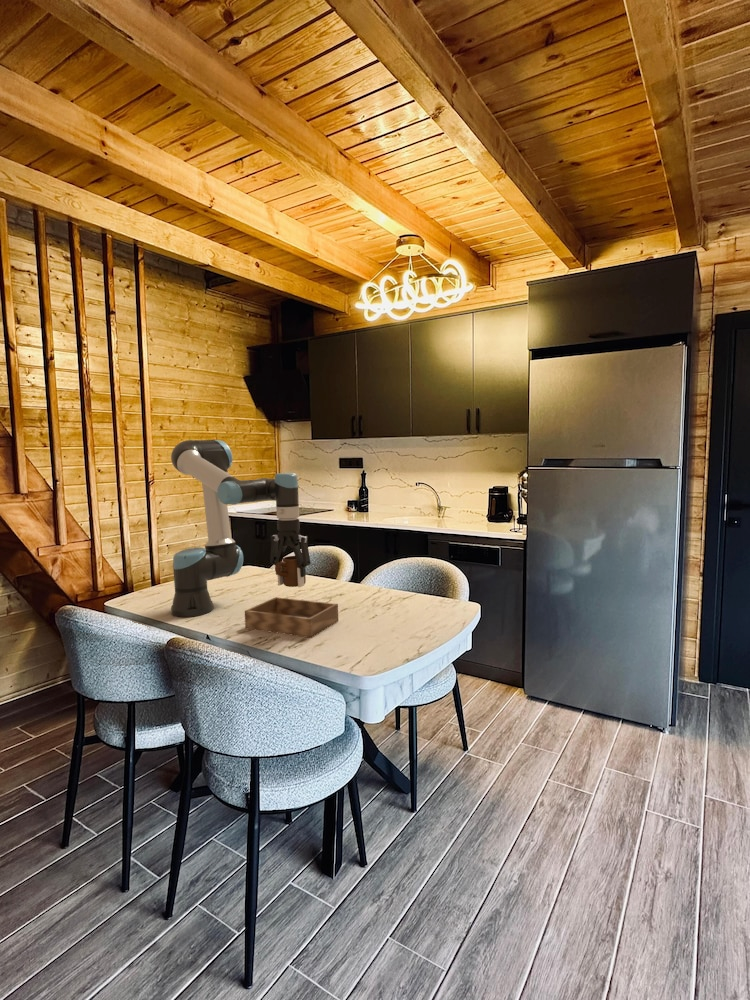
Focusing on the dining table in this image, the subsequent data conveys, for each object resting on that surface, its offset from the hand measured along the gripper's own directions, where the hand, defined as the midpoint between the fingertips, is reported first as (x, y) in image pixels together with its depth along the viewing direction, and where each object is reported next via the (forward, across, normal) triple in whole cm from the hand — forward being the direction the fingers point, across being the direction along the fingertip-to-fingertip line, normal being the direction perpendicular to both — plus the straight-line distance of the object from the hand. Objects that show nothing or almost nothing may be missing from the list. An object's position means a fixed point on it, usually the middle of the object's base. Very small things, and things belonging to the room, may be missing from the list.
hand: (291, 585), depth 184 cm
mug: (+1, 0, 0) cm, 1 cm away
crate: (+14, 0, 0) cm, 14 cm away
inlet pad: (+14, 0, 0) cm, 14 cm away
